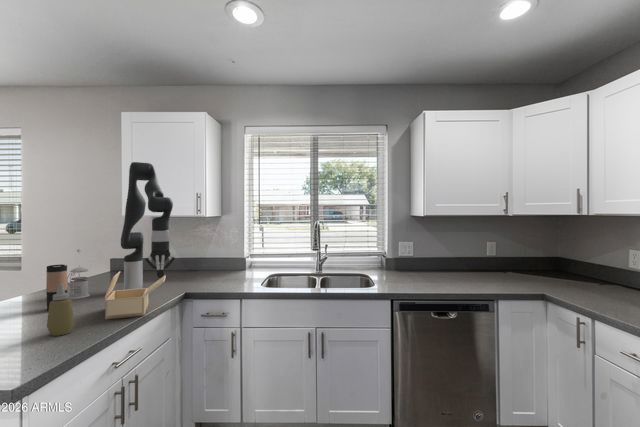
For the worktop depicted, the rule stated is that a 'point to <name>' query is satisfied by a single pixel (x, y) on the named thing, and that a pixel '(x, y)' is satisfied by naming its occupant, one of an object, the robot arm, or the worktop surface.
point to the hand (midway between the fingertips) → (160, 277)
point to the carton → (126, 303)
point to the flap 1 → (112, 284)
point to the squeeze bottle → (60, 313)
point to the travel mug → (55, 280)
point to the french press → (78, 284)
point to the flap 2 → (156, 285)
